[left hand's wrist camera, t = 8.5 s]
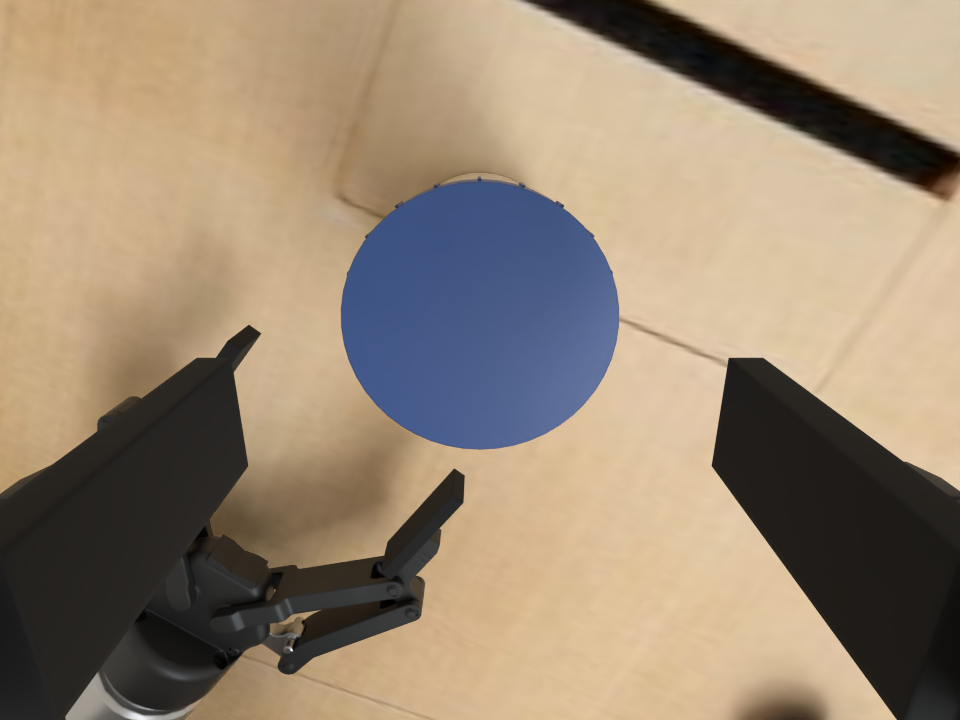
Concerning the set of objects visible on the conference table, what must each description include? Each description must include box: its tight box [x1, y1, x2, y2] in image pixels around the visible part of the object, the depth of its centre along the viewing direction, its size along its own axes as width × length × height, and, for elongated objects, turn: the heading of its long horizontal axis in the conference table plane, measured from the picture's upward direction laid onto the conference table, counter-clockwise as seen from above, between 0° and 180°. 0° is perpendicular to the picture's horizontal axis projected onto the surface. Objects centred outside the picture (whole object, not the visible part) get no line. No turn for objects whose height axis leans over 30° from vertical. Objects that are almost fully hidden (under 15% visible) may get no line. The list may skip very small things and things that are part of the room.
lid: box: [341, 176, 619, 449], centre depth 20 cm, size 10×10×2 cm
